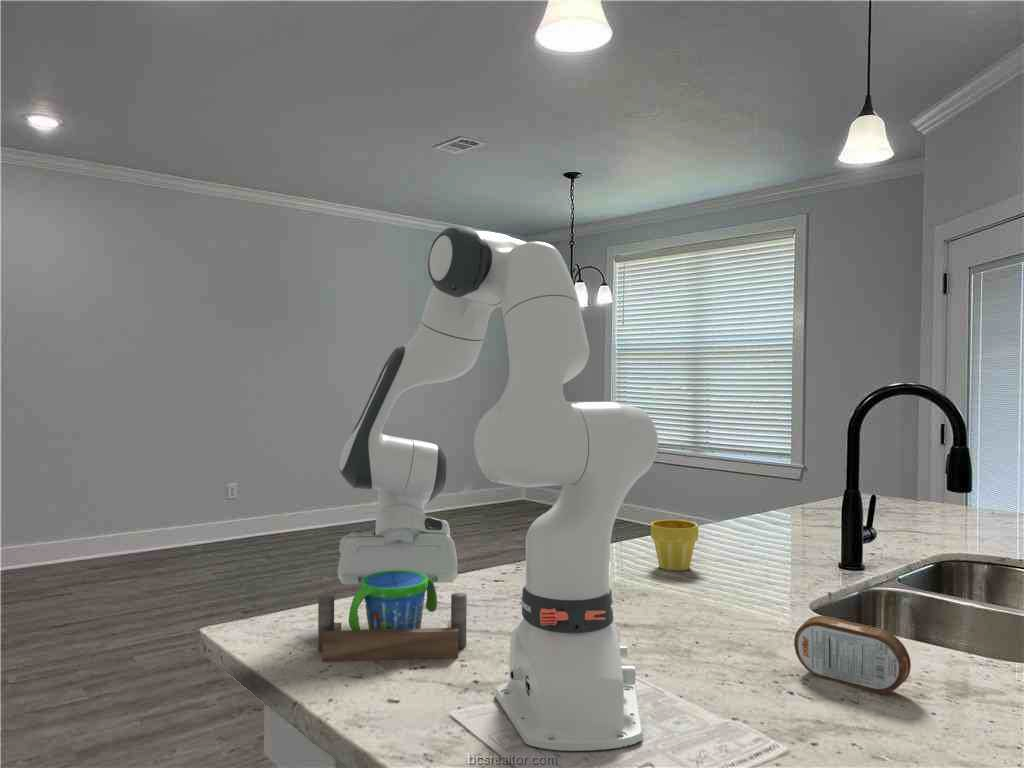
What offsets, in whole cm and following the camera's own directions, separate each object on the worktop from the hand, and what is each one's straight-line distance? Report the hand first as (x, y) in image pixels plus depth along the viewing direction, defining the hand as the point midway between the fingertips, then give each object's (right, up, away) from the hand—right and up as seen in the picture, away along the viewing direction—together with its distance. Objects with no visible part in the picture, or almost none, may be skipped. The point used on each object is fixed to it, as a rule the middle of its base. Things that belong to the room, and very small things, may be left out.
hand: (396, 604), depth 126 cm
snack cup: (0, -5, -5) cm, 7 cm away
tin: (+66, -5, -20) cm, 69 cm away
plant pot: (+55, -4, +43) cm, 70 cm away
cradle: (+1, -4, -8) cm, 9 cm away
